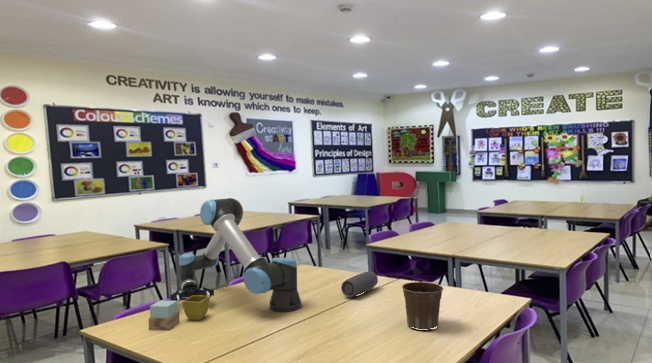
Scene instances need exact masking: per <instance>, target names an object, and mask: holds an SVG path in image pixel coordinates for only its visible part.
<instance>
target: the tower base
mask: <svg viewBox="0 0 652 363" xmlns="http://www.w3.org/2000/svg"><path fill="white" fill-rule="evenodd" d="M178 324H180V311H178V312H177V313H176V314H174V315H173V316H171V317H170V318H168V319H165V318H150V317H149V318H148V330H149V331H171V330H172V329H173V328H174V327H176V326H177V325H178Z"/></svg>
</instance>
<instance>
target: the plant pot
mask: <svg viewBox="0 0 652 363" xmlns="http://www.w3.org/2000/svg"><path fill="white" fill-rule="evenodd" d="M401 289H402V291H403V297H404V301H405V312H406V323H407V324H408V325H409V326H411V327H414V328H418V329H430V328H434V327H436V326H438V327H439V320H440V319H439V317H440V308H441V307H440V306H441V300H442V294H443V291H444V287H443V286H442V285H440V284H438V283H434V282H425V281H414V282H413V281H412V282H407V283H404V284H403V285H402V286H401ZM408 325H407V326H408Z"/></svg>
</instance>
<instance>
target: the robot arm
mask: <svg viewBox="0 0 652 363" xmlns="http://www.w3.org/2000/svg"><path fill="white" fill-rule="evenodd" d="M199 216H200V217H199V218H200V220H201V222H202V223H203V225H206V226H210V227H211V228H212V229H213V230H214V234H213V236H212V237H211V239H210V241H209V243H208V244H207V246H206V248H205V250H204V251H203V253H202V254H200V255H195V254H194V253H183V254H181V255H180V256H179V277H180V278H179V287H180V289H181V290H179V289H177V290H176V291H175V292H173V293H171V294H170V295H169V301H177V306H180V302H181V301H180V300H181V299H184V298H189V297H191V296H209V302H210V301H211V298H212V296H213V297H214V296H215V290H214V289H211V288H209V287H208V288H207V287H206V286H202V287H201V288H199V286H198V285H197V283H196V271H199V270H204V269H207V268H208V269H209V268H213V267H216V266H218V264H219V261H220V259H219V258H220V256H219V255H220V253H221V251H222V250H223V248H224V246H225V244H227V245H228V247H229V248H230V249H231V251H232V252H233V254H234V255H235V257H236V258H237V260H238V261H239V263H240V264H241V266H242V267H243V271H242V273H243V277H242V278H243V283H244V286H245V287H246V289H247V290H248V291H249V292H250V293H252V294H254V295H260V294H265V293H267V292H270V291H272V293H271V295H270V300H269V303H268V305H269V310H270V311H273V312H283V313H284V312H292V311H296V310H299V309H300V308H302V299H301V296H300V293H299V291H298V266H297V261H296V259H294V258H290V257H273V258H272V259H271V262H268V260H267V259H266V258H265V257H263V256H260V255H259V253H258V252H257V251H256V249H255V248H254V247H253V245H252V244H251V242H250V241H249V239H248V238H247V237H246V235H245V233H243V232H242V230H241V228H240V227H239V225H240V223H241V222H242V219H243V217H244V208H243V205H242V204H241V203H240V201H239V200H237V199H235V198H231V197H228V198H220V199H219V198H218V199H217V198H216V199H209V200H205V201H204V202H203V203H202V205H201V206H200V212H199Z"/></svg>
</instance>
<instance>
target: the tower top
mask: <svg viewBox="0 0 652 363" xmlns="http://www.w3.org/2000/svg"><path fill="white" fill-rule="evenodd" d="M178 308H179V307H178V303H177V301H174V300H173V301H170V300H162V299H161V300H158V301H156V302H155V303H153V304H151V305H149V318H165V319H168V318H170V317H171V316H173V315H174V314H176V313H177V312H179V311H178Z"/></svg>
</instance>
